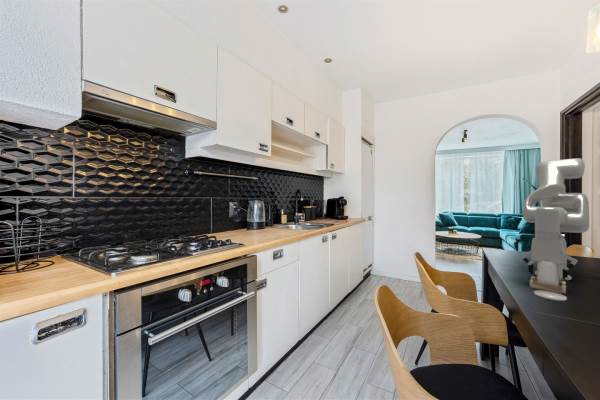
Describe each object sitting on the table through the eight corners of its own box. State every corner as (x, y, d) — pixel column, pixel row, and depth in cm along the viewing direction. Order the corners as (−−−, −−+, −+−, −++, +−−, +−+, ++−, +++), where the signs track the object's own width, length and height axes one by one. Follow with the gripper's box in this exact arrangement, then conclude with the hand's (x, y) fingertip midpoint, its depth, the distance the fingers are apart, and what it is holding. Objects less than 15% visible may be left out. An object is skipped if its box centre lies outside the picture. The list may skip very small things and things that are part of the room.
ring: (531, 281, 113) (531, 276, 113) (565, 287, 106) (565, 281, 106) (529, 287, 106) (529, 281, 106) (565, 293, 98) (565, 287, 98)
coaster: (534, 290, 103) (534, 288, 103) (566, 296, 96) (566, 294, 96) (533, 296, 96) (533, 294, 96) (567, 302, 90) (567, 301, 90)
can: (563, 290, 102) (562, 261, 102) (544, 289, 103) (544, 260, 104) (550, 285, 108) (550, 257, 109) (533, 284, 110) (533, 257, 110)
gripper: (577, 237, 102) (577, 279, 102) (521, 233, 115) (521, 270, 115) (577, 239, 97) (578, 283, 97) (519, 234, 110) (519, 273, 109)
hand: (547, 276), depth 106 cm, fingers open, 9 cm apart
